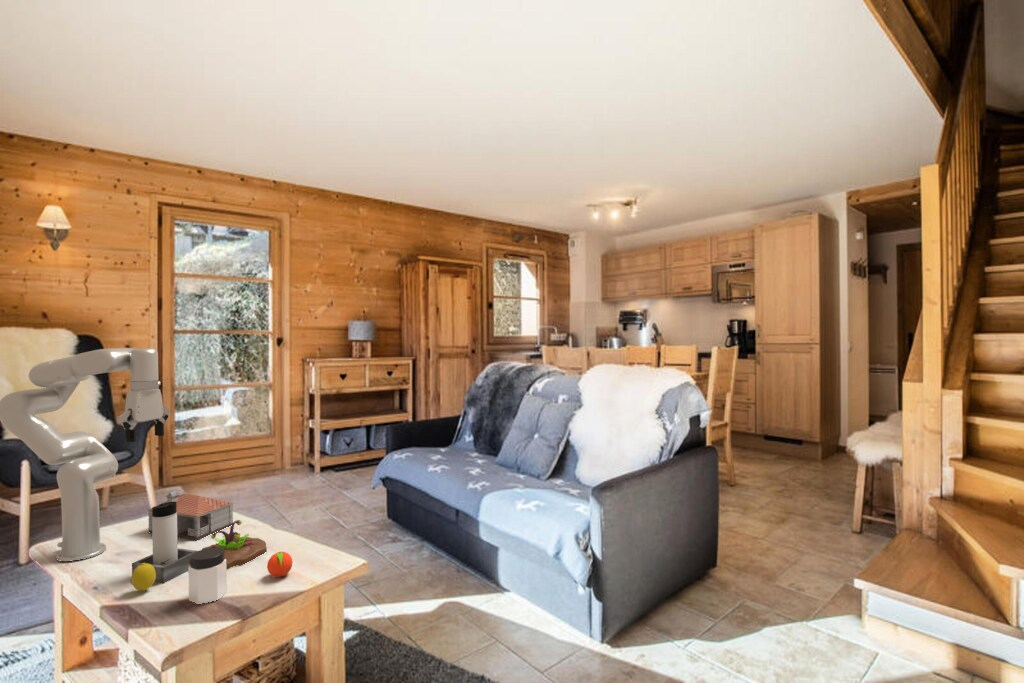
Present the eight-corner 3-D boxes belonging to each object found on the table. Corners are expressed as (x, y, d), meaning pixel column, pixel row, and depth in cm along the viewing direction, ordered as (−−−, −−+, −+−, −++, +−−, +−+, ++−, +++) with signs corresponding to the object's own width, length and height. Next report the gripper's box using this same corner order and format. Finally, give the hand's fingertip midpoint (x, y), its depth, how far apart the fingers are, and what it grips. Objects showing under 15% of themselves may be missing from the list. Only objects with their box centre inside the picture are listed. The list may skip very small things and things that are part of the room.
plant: (278, 552, 171) (278, 518, 171) (218, 575, 155) (218, 538, 154) (244, 539, 182) (244, 508, 182) (185, 560, 165) (184, 525, 165)
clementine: (294, 579, 151) (294, 555, 151) (268, 585, 148) (268, 560, 148) (291, 568, 158) (291, 545, 158) (266, 573, 155) (266, 550, 155)
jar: (203, 588, 146) (202, 546, 146) (231, 588, 146) (231, 546, 146) (182, 605, 137) (181, 560, 137) (213, 605, 137) (212, 560, 137)
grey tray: (132, 578, 152) (131, 563, 152) (168, 561, 164) (168, 547, 164) (163, 583, 149) (163, 567, 149) (199, 565, 161) (198, 550, 161)
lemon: (152, 584, 149) (151, 557, 149) (158, 590, 145) (158, 562, 145) (129, 592, 144) (128, 563, 144) (135, 598, 141) (134, 569, 141)
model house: (147, 534, 188) (146, 493, 187) (187, 519, 202) (186, 481, 202) (196, 542, 180) (195, 499, 180) (233, 526, 195) (232, 486, 194)
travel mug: (166, 573, 153) (165, 506, 153) (147, 572, 154) (146, 505, 154) (183, 564, 159) (182, 500, 159) (165, 562, 160) (164, 499, 160)
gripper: (160, 383, 177) (161, 433, 178) (108, 388, 161) (110, 443, 161) (177, 383, 175) (178, 434, 176) (127, 389, 159) (128, 444, 159)
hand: (145, 438), depth 168 cm, fingers open, 9 cm apart
